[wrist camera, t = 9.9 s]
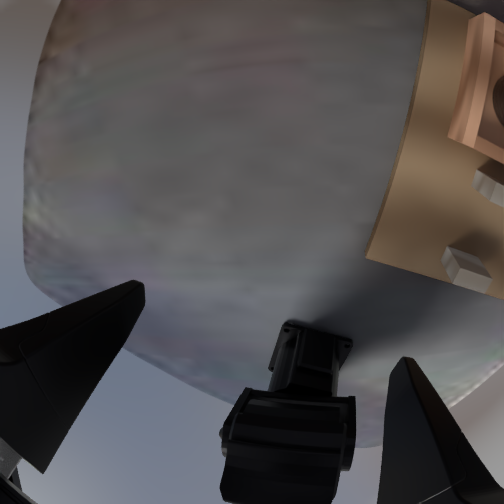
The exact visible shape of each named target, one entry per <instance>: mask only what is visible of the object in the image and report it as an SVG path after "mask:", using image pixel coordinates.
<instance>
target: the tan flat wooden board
mask: <svg viewBox="0 0 504 504" xmlns="http://www.w3.org/2000/svg"><path fill="white" fill-rule="evenodd" d="M502 76H504V23H502V22H501V21H499V20H497V19H496V18H494V17H492V16H491V15H489V14H487V13H485V12H484V13H482V14H480V15H475V14H473V13H471V12H469V11H467V10H465V9H463V8H461V7H459V6H457V5H455V4H453V3H451V2H449V1H447V0H428V1H427V10H426V18H425V26H424V33H423V39H422V46H421V52H420V57H419V63H418V68H417V73H416V78H415V83H414V88H413V93H412V97H411V102H410V106H409V110H408V114H407V118H406V122H405V126H404V130H403V134H402V138H401V142H400V145H399V149H398V152H397V156H396V159H395V163H394V166H393V170H392V173H391V176H390V180H389V183H388V186H387V189H386V192H385V195H384V198H383V202H382V205H381V208H380V210H379V213H378V216H377V219H376V222H375V225H374V228H373V231H372V233H371V236H370V239H369V242H368V244H367V247H366V250H365V256H366V258H367V259H370V260H374V261H377V262H381V263H384V264H388V265H391V266H394V267H398V268H401V269H405V270H408V271H411V272H415V273H418V274H421V275H425V276H428V277H431V278H435V279H438V280H441V281H445V282H448V283H451V284H454V285H458V286H461V287H464V288H467V289H471V290H474V291H477V292H480V293H483V294H486V295H490V296H493V297H496V298H499V299H502V300H504V127H503V126H502V125H501V123H500V122H499V120H498V118H497V116H496V114H495V111H494V107H493V100H492V95H493V89H494V86H495V84H496V82H497V81H498V79H500V78H501V77H502Z"/></svg>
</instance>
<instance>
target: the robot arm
mask: <svg viewBox="0 0 504 504" xmlns="http://www.w3.org/2000/svg"><path fill="white" fill-rule="evenodd" d="M144 306H145V287H144V284H143V283H142V282H139V281H136V280H130V281H128V282H125V283H123V284H120V285H117V286H115V287H112V288H110V289H107V290H105V291H102V292H99V293H97V294H94V295H92V296H89V297H87V298H84V299H81V300H79V301H76V302H74V303H71V304H69V305H66V306H64V307H61V308H59V309H56V310H54V311H51V312H50V313H46V314H43V315H41V316H39V317H36V318H33V319H30V320H28V321H24V322H21V323H18V324H15V325H12V326H8V327H5V328H2V329H0V504H37V503H36V502H35V501H33V500H32V499H30V497H28V496H27V495H26V494H25V493H23V492H22V488H21V484H20V479H19V475H18V470H17V465H18V463H19V462H20V460H21V459H22V458H23V459H24V460H25V461H27V462H28V463H29V464H30V465H31V466H33V467H34V468H35V469H37V470H38V471H39V472H40V473H42V474H44V472H45V471H46V469H47V467H48V466H49V464H50V462H51V460H52V459H53V457H54V455H55V453H56V452H57V450H58V448H59V446H60V445H61V443H62V441H63V440H64V438H65V436H66V435H67V433H68V431H69V429H70V428H71V426H72V425H73V423H74V421H75V420H76V418H77V416H78V415H79V413H80V411H81V410H82V408H83V407H84V405H85V403H86V402H87V400H88V399H89V397H90V396H91V394H92V392H93V391H94V389H95V388H96V386H97V384H98V383H99V381H100V380H101V378H102V377H103V375H104V374H105V372H106V370H107V369H108V368H109V366H110V364H111V363H112V362H113V360H114V358H115V357H116V356H117V354H118V353H119V351H120V350H121V348H122V347H123V345H124V343H125V342H126V340H127V338H128V337H129V335H130V333H131V331H132V329H133V327H134V325H135V323H136V321H137V320H138V318H139V316H140V314H141V312H142V310H143V308H144ZM285 328H288V329H289V330H287V329H285ZM346 344H349V345H346ZM352 347H353V341H352V340H351V339H347V338H343V337H339V336H335V335H331V334H327V333H323V332H319V331H316V330H312V329H308V328H304V327H300V326H297V325H293V324H289V323H285V324H283V325H282V327H281V330H280V333H279V337H278V340H277V343H276V346H275V349H274V352H273V355H272V358H271V361H270V364H269V367H268V369H269V370H270V371H271V372H273V374H272V377H271V381H270V384H269V388H268V391H262V390H254V389H252V388H247V387H246V388H245V389H244V391H243V393H242V394H241V395H240V396H239V398H238V400H237V402H236V403H235V405H234V407H233V408H232V410H231V412H230V413H229V415H228V417H227V419H226V420H225V422H224V424H223V427H222V428H221V429H220V432H219V436H220V437H221V439H222V446H221V447H222V453H223V456H224V457H226V461H225V467H224V471H223V475H222V479H221V483H220V491H221V495H222V498H223V500H224V501H225V502H229V503H232V504H331V503H332V500H333V499H334V497H335V495H336V492H337V487H338V482H339V477H340V471H349V470H350V468H351V464H352V460H353V455H354V449H355V441H356V400H355V396H348V397H337V387H338V374H339V370H340V368H341V367H342V365H343V363H344V361H345V360H346V358H347V356H348V354H349V353H350V351H351V349H352ZM377 504H504V489H503V488H502V487H500V485H499V484H498V483H497V482H496V481H495V480H494V478H493V477H492V475H491V474H490V472H489V471H488V470H487V468H486V467H485V465H484V464H483V463H482V461H481V460H480V458H479V457H478V455H477V454H476V453H475V451H474V450H473V448H472V446H471V445H470V443H469V442H468V440H467V439H466V437H465V435H464V434H463V433H462V432H461V429H460V427H459V426H458V424H457V423H456V421H455V419H454V418H453V416H452V415H451V413H450V412H449V410H448V408H447V407H446V405H445V404H444V402H443V401H442V399H441V398H440V396H439V395H438V393H437V392H436V390H435V389H434V387H433V386H432V384H431V383H430V381H429V380H428V378H427V377H426V375H425V374H424V373H423V371H422V370H421V368H420V367H419V365H418V364H417V362H416V361H415V360H414V359H413V358H410V357H402V358H401V359H400V360H399V362H398V363H397V364H396V366H395V367H394V369H393V370H392V372H391V374H390V377H389V386H388V394H387V402H386V409H385V418H384V437H383V452H382V465H381V474H380V483H379V492H378V499H377Z"/></svg>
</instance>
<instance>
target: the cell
mask: <svg viewBox="0 0 504 504" xmlns="http://www.w3.org/2000/svg"><path fill="white" fill-rule="evenodd" d="M492 100H493V107H494V111H495V114H496V116H497V118H498V120H499V122H500V123H501V125H502V126H503V127H504V76H502V77H501V78H500V79H498V81H497V82H496V84H495V86H494V89H493V95H492Z"/></svg>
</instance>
